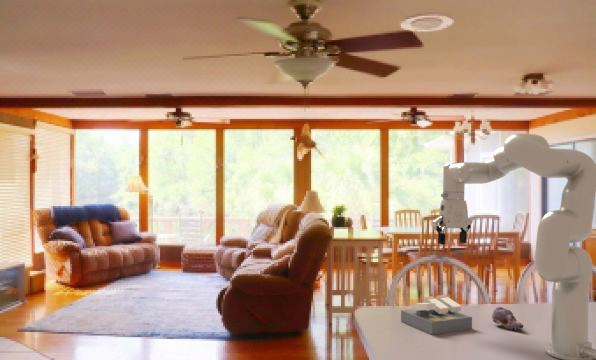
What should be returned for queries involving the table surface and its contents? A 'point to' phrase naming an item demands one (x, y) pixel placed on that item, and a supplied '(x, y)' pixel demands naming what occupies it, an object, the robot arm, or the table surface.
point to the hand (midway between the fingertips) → (452, 243)
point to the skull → (506, 318)
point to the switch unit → (436, 321)
